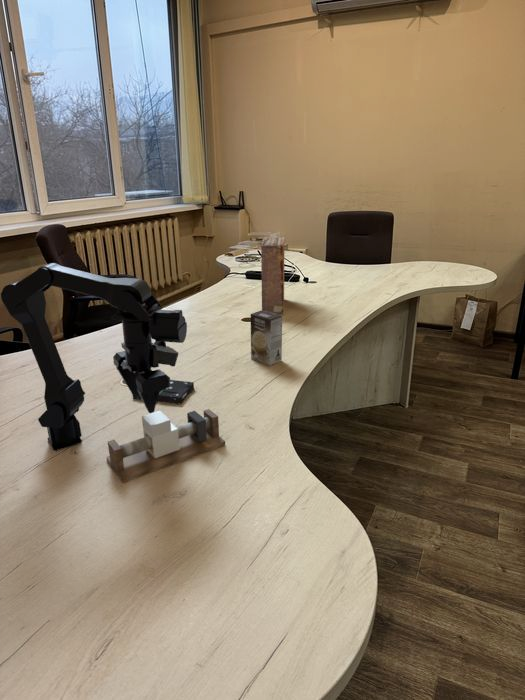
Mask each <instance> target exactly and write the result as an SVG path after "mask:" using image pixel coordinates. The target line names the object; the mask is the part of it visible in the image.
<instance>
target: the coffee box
mask: <svg viewBox="0 0 525 700" xmlns="http://www.w3.org/2000/svg"><path fill="white" fill-rule="evenodd" d="M282 351H283V315H282V314H276V313H272V312H269V311H265V310H262V309H261V310H258V311H255V312H253V313H250V359H251V360H254V361H257V362H259V363H262V364H264V365H267V366H269V365H270V366H272V364H273V365H274V363H275V364H278V363H279V362H281V361H280V360H282V359H283V358H282V355H283V353H282Z"/></svg>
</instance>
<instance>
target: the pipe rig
mask: <svg viewBox="0 0 525 700" xmlns="http://www.w3.org/2000/svg"><path fill="white" fill-rule="evenodd" d="M203 418H204V419H206V434H207V440H205V441H202V442H198V441H197V440H196V439H195V438H194V437H193V436H192V434H195V433H197V423H195V422H194V421H193V422H190V423H188V422H186V423H184V424H180V425H177V426H175V427H176V428H177V429H178V437H179V449H180V450H177V451H174V452H172V453H169V454H166V455H163V456H160V457H158V458H154V457H153V456H152V455H151V454H150V452H149V451H148V449H151V448H153V447H152V439H151V438H150V436H147V437H144V436H143V437H142V438H138V439H136V440H132V441H130V442H127V443H122V444H121V445H119V443H118V442H117V441H116V439H112V440H109V441H107V448H108V453H109V454H108V456H106V461H107V464H108V465H109V466H110V468H111V469H112V470H113V472H114V473H115V474H116V476H117V477H118V478H119V480H120V481H121V483H123V484H125V483H127V482H130V481H132V480H135V479H137V478H140V477H143V476H145V475H147V474H151V473H153V472H156V471H159V470H161V469H164V468H167V467H169V466H172V465H175V464H178V463H180V462H182V461H185V460H189V459H191V458H194V457H197V456H199V455H202V454H204V453H208V452H210V451H212V450H214V449H215V450H216V449H217V448H221V447H222V446H225V445H226V440H225V439H223V438H222V437H221V436H220V427H219V426H220V425H219V416H218V414H217V413H215V412H214V411H212V410H211V409H209V408H208V409H205V410H203Z"/></svg>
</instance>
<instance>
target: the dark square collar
mask: <svg viewBox="0 0 525 700" xmlns="http://www.w3.org/2000/svg"><path fill="white" fill-rule="evenodd" d="M186 414H187V415H186V417H187V423H190V422H193V421H194V422H195V423H197V433H195V434H192V436H193V437H194V438H195V439H196V440H197V441H198V442H202V441H205V440H207V434H206V419H204V416H202V415H201V414H199V413H198V412H197V411H196V410H193V411H188V412H187V413H186Z"/></svg>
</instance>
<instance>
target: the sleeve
mask: <svg viewBox="0 0 525 700" xmlns="http://www.w3.org/2000/svg"><path fill="white" fill-rule="evenodd" d="M141 420H142V421H141V422H142V431H143V438H144V437H147V436H150V438H151V439H152V447H153V448H151V449H148V451H149V452H150V454H151V455H152V456H153V457H154V458H158V457H160V456H163V455H166V454H169V453H172V452H174V451H177V450H180V449H179V437H178V429H177V428H176V427H177V426H175V424H173V423H172V422H171V419H170V418H169V417H168V416H167V415H165V414H164V412H162V411H161V410H157V411H154V412H153V413H148V414H145V415H141Z"/></svg>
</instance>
